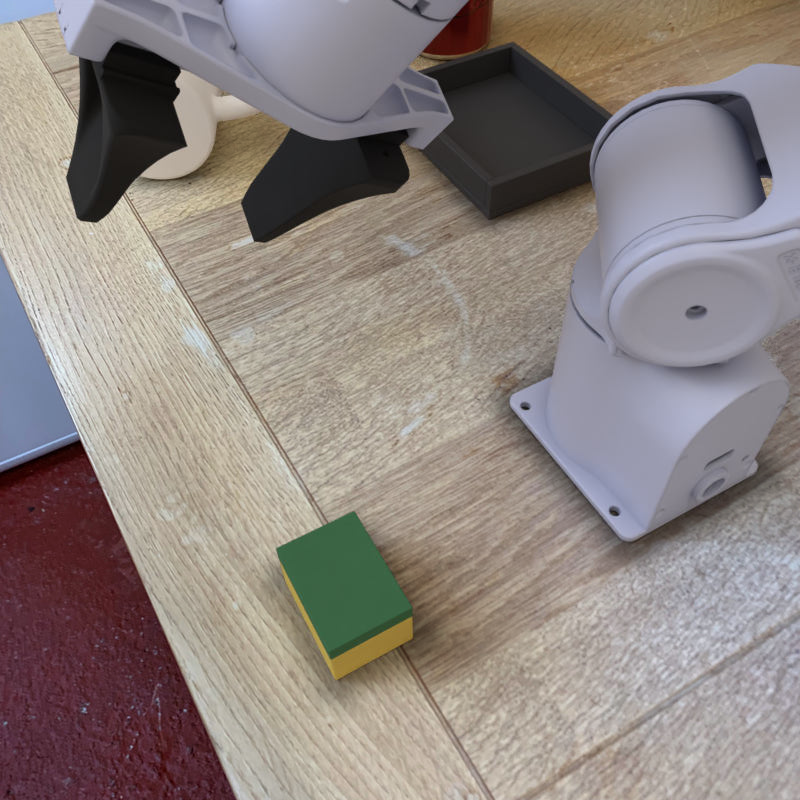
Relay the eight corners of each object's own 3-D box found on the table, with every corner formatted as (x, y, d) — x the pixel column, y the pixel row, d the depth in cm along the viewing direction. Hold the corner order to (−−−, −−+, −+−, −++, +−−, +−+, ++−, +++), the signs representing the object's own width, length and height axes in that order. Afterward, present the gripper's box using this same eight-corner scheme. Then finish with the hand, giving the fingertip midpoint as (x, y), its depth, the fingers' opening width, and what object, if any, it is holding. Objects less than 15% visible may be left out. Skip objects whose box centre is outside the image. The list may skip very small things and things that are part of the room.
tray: (629, 166, 53) (637, 132, 51) (489, 219, 50) (491, 186, 48) (510, 72, 61) (513, 41, 59) (382, 113, 58) (380, 81, 56)
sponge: (413, 638, 33) (413, 607, 30) (335, 681, 32) (328, 652, 29) (358, 545, 36) (354, 510, 33) (285, 581, 35) (275, 547, 32)
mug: (106, 184, 53) (64, 71, 47) (128, 104, 59) (94, -5, 53) (285, 174, 53) (267, 60, 47) (289, 95, 60) (273, -14, 54)
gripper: (487, -67, 29) (288, 161, 38) (117, -294, 19) (-41, 90, 28) (562, 84, 28) (334, 287, 36) (195, -77, 17) (-1, 262, 26)
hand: (174, 212), depth 32 cm, fingers open, 7 cm apart
